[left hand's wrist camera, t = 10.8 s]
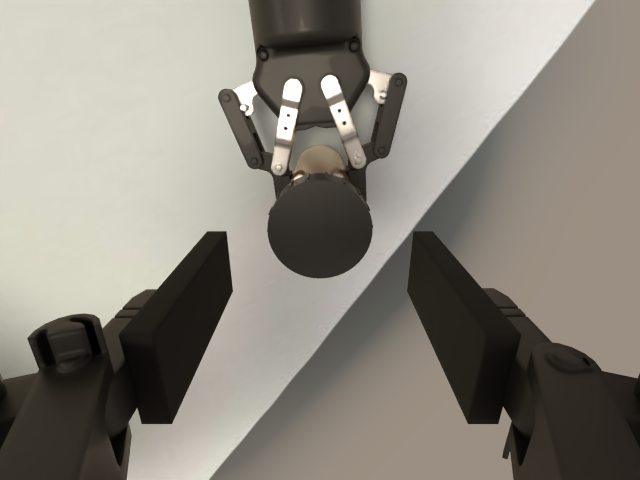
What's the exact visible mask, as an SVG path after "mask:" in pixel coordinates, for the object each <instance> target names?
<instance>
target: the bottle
mask: <svg viewBox="0 0 640 480" xmlns="http://www.w3.org/2000/svg"><path fill="white" fill-rule="evenodd" d="M326 172H328V174H332V175H336V176H338V177H341V178H343V177H344V178H345V180H346V181H348V182H349V183H350V181H349V178H348V175H347V173H346V170H345V167H344V165H343V162H342V159H341V157H340V155H339V154H338V153H337V152H336V151H335V150H334V149H333V148H331V147H329V146H326V145H314V146H311V147H309V148H307V149H306V150H305V151H304V152H303V153H302V154H301V155H300V157H299V159H298V162H297V165H296V167H295V170H294V173H293V176H292V178H291V180H293V181H294V180H295V179H297V178H299V177H302V176H305V175H307V174H308V173H310V174H314V173H326ZM290 182H291V181H290Z"/></svg>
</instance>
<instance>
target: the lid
mask: <svg viewBox="0 0 640 480" xmlns="http://www.w3.org/2000/svg"><path fill="white" fill-rule="evenodd" d="M369 211H370V209H369V206H368V204H367V202H365V201H364V199H363V197H362V196H361V194H360V191H359V189H358V188H355V187H354V186H353V185H352V184H351V183H349V182H348V181H346V180H345V178H344V177H343V178H341V177H338V176H336V175H332V174H328V172H326V173H314V174H310V173H308V174H307V175H305V176H302V177H299V178H297V179H295V180H294V181H293V180H291V182H290V183H289V184H288V185H287V186H286V187H285V188H284V189H283V190H282V191H281V192H280V191H279V193H278V195H277V197H276V201H275V203H274V206H272V208H271V210H270V212H269V215H270V216H269V220H268V230H267V232H268V238H269V242H270V245H271V248H272V250H273V252H274V253H275V255H276V256H277V258H278V259H279V260H280V261H281V262H282V263H283V264H284V265H285V266H286V267H287V268H289V269H290V270H292V271H293V272H296V273H298V274H300V275H303V276H306V277H311V278H329V277H334V276H337V275H340V274H342V273H345V272H346V271H348V270H350V269H351V268H353V267H354V266H355V265H356V264H357V263H358V262H359V261H360V260H361V259H362V258H363V256H364V255H365V253H366V252H367V250H368V248H369V245H370V242H371V238H372V228H373V225H372V220H371V216H370V213H369Z"/></svg>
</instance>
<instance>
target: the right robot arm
mask: <svg viewBox="0 0 640 480" xmlns="http://www.w3.org/2000/svg"><path fill="white" fill-rule="evenodd" d="M249 7H250V14H251V21H252V29H253V36H254V43H255V50H256V68H255V71H254V74H253V79H252V81H251V82H249V83H247V84H244V85H242V86H239V87H237V88H235V89H232V90H231V89H223V90H221V91H220V93H219V95H218V99H219V102H220V104H221V106H222V109H223V111H224V113H225V115H226V117H227V120H228V122H229V124H230V126H231V129H232V131H233V133H234V135H235V138H236V140H237V142H238V144H239V147H240V149H241V151H242V153H243V155H244V158H245V160H246V162H247V164H248V166H249V167H250V168H252V169H261V170H265V171H268V172H269V173H270V174H271V175H272V176H273V179H274V186H275V194H276V197H277V195H278V193H279V191H280V192H281V191H282V190H283V189H284V188H285V187H286V186H287V185H288V184H289V183H290V181H291V178H292V176H293V173H292V170H291V171H290V170H289V162H290V157H291V152H292V147H293V143H294V139H295V134H296V131H299V130H306V129H309V128H311V127H314V126H318V127H323V128H332V127H336V128H337V130H338V133H339V136H340V138H341V140H342V143H343V146H344V148H345V151H346V153H347V156H348V166H346V173H347V175H348V178H349V181H350V183H351V184H352V185H353V186H354V187H355V188H358V189H359V191H360V194H361V196H362V197H363V199H364V201H365V202H366V175H365V170H366V167H367V165H368V164H369V163H370V162H372V161H374V160H377V159H379V158H385V157H387V156H388V154H389V152H390V148H391V144H392V140H393V136H394V132H395V128H396V124H397V120H398V117H399V113H400V109H401V105H402V101H403V97H404V93H405V89H406V85H407V78H406V76H405V75H404V74H402V73H395V74H388V73H383V72H379V71H374V70H370V67H369V64H368V63H367V61H366V59H365V57H364V54H363V50H362V34H361V7H360V0H249ZM367 84H368V85H369V86H370V87H371V88H372V91H373V94H372V97H373V100H374V101H375V102H376V103H378V104H379V108H378V112H377V116H376V121H375V125H374V129H373V133H372V138H371V142H369V143H367V144H365V145H363V146H361V143H360V140H359V138H358V134H357V131H356V128H355V126H354V123H353V120H352V118H351V115H350V112H351V110H352V108H353V107H354V105H355V103H356V102H357V100H358V98H359V97H360V95H361V93H362V91H363V90H364V88H365V86H366V85H367ZM257 95H259V96H260V97H261V98H262V100H263V101H264V102H265V103H266V104H267V105H268V107H269V108H270V109H271V110H272V111H273V112H274V114H275V115H276V116H277V117H278V118H279V122H278V127H277V133H276V138H275V147H274V153H269V152H265V150H264V148H263V145H262V143H261V140H260V138H259V136H258V133H257V131H256V129H255V126H254V124H253V121H252V119H251V117H250V115H252V114H253V113H254V112H255V104H254V100H255V97H256V96H257Z"/></svg>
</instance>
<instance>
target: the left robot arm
mask: <svg viewBox="0 0 640 480" xmlns="http://www.w3.org/2000/svg"><path fill="white" fill-rule="evenodd" d="M232 292H233V289H232V279H231V270H230V261H229V251H228V242H227V233H226V231H207V232H206V234H205V235H204V236H203V237H202V238H201V239H200V241H199V242H198V243H197V244H196V245H195V246H194V248H193V249H192V250H191V251H190V252H189V253H188V254H187V256H186V257H185V258H184V259H183V260H182V261H181V263H180V264H179V265H178V266H177V267H176V268H175V270H174V271H173V272H172V273H171V274H170V275H169V276H168V278H167V279H166V280H165V281H164V282H163V283H162V285H161V286H160V287H159V288H158V289H157V290H145V291H143V292H141V293H140V294H138V295H136V296H135V297H133V298H132V299H131V300H130V301H129V302H128V303H127V304H126V305H125V306H124V307H123V309H122V310H120V311H119V312H118V313H117V314H116V315H115V318H112V320H111V321H110V322H109V323H108V324H107V325H106V326H105V327H104V328H103V329H102V327H101V323H100V319H99V318H98V317H96V316H95V315H91V314H75V315H69V316H66V317H62V318H58V319H56V320H53V321H51V322H49V323H46V324H44V325H43V326H41V327H40V328H38V329H37V330H35V331H34V332H33V333H32V334H31V335H30V336H29V337H28V338H27V339H28V341H29V344H30V347H31V349H32V352H33V354H34V357H35V360H36V362H37V365H38V367H39V371H38V373H34V374H29V375H25V376H20V377H15V378H10V379H5V380H3V379H2V377H1V374H0V480H127V471H128V462H129V453H130V445H131V430H130V426H129V420H130V419H131V417H132V415H133V414H134V412H135V410H136V409H137V408H138V411H139V415H140V419H141V423H142V424H172V423H173V420H174V418H175V416H176V414H177V412H178V409H179V407H180V405H181V403H182V401H183V399H184V396H185V394H186V392H187V390H188V388H189V385H190V383H191V381H192V379H193V377H194V375H195V372H196V370H197V368H198V366H199V364H200V361H201V359H202V357H203V355H204V353H205V351H206V348H207V346H208V344H209V342H210V340H211V338H212V335H213V333H214V331H215V329H216V327H217V324H218V322H219V320H220V318H221V316H222V314H223V311H224V309H225V307H226V305H227V303H228V300H229V298H230V296H231V294H232ZM407 292H408V294H409V296H410V298H411V300H412V303H413V305H414V307H415V309H416V311H417V313H418V316H419V318H420V320H421V322H422V324H423V327H424V329H425V331H426V333H427V335H428V338H429V340H430V342H431V344H432V346H433V348H434V351H435V353H436V355H437V357H438V359H439V361H440V364H441V366H442V368H443V370H444V372H445V375H446V377H447V379H448V381H449V383H450V385H451V388H452V390H453V392H454V394H455V396H456V398H457V401H458V403H459V405H460V407H461V409H462V412H463V414H464V416H465V418H466V420H467V423H468V424H498V423H499V419H500V415H501V411H502V408H503V407H504V408H505V410H506V412H507V413H508V415H509V417H510V418H511V420H512V422H511V426H510V430H509V433H508V436H507V440H506V444H505V447H504V451H503V458H505V459H508V455H509V452H511V461H512V470H513V478H514V480H640V374H639V377H638V378H633V377H628V376H623V375H618V374H613V373H608V372H604V371H602V370H601V369H600V367H599V366H598V365H597V364H596V362H595V361H594V360H593V359H591V358H590V357H588V356H587V355H586V354H584V353H582V352H580V351H578V350H576V349H574V348H572V347H569V346H566V345H562V344H559V343H552V342H551V341H550V340H549V339H548V338H547V337H546V336H545V335H544V334H543V332H542V331H541V330H540V329H539V328H538V327H537V326H536V325H535V324H534V323H533V322H532V321H531V320H530V319H529V318H528V317H526V315H525V314H524V313H523V312H522V311H521V310H520V309H518V307H517V305H516V304H515V303H514V302H513V301H512V300H511V299H510V298H509V297H508V296H506V295H504V294H503V293H501V292H499V291H497V290H496V289H494V288H481V287H480V286H479V285H478V283H477V282H476V281H475V280H474V279H473V278H472V276H471V275H470V274H469V273H468V272H467V271H466V270H465V268H464V267H463V266H462V265H461V264H460V263H459V261H458V260H457V259H456V258H455V257H454V256H453V254H452V253H451V252H450V251H449V250H448V249H447V248H446V246H445V245H444V244H443V243H442V242H441V241H440V239H439V238H438V237H437V236H436V235H435V234H434V232H432V231H430V232H429V231H419V232H417V231H416V232H415V231H414V233H413V242H412V252H411V261H410V270H409V279H408V289H407Z"/></svg>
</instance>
